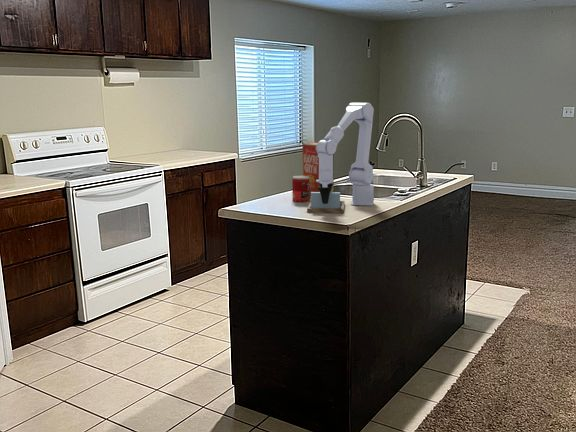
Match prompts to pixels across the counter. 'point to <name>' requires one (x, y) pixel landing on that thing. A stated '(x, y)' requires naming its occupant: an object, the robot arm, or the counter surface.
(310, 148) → the food packaging
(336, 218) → the counter surface
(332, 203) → the panel
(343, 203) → the rack
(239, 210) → the counter surface
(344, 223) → the counter surface
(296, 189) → the canned food
